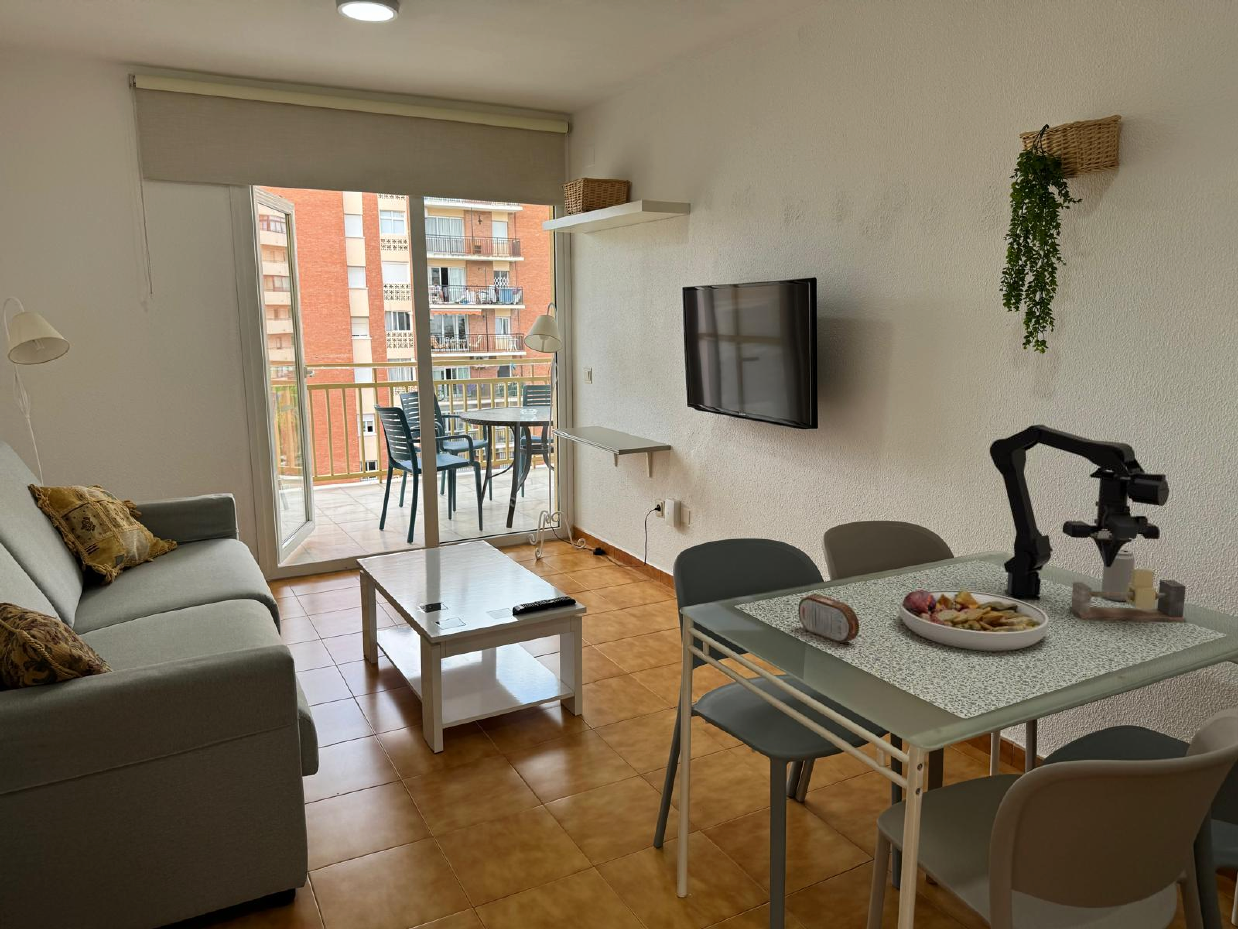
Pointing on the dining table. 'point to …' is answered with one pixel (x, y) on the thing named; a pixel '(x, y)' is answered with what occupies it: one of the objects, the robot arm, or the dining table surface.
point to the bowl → (973, 619)
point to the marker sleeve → (1142, 588)
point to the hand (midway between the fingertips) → (1107, 566)
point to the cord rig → (1166, 611)
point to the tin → (828, 618)
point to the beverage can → (1118, 574)
